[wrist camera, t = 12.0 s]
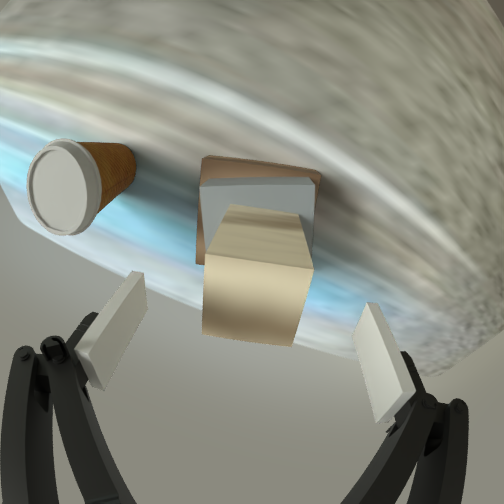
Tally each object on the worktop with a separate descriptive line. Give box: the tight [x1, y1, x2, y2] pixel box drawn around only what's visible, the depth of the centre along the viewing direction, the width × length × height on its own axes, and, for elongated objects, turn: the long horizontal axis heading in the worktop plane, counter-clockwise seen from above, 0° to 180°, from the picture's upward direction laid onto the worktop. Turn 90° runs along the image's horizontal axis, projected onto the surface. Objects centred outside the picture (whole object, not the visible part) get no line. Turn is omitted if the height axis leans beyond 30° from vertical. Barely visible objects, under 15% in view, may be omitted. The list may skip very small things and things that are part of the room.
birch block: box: [202, 204, 314, 347], centre depth 21 cm, size 6×6×10 cm
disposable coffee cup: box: [27, 139, 136, 236], centre depth 25 cm, size 10×10×12 cm
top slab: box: [199, 177, 315, 258], centre depth 27 cm, size 10×10×4 cm
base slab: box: [196, 155, 321, 265], centre depth 30 cm, size 12×12×4 cm
